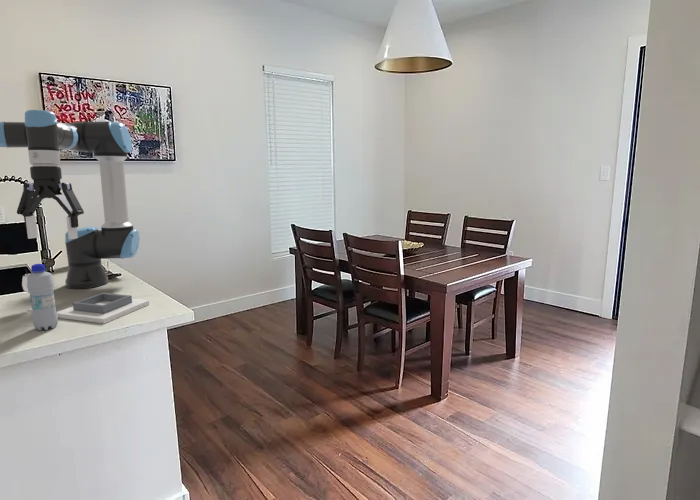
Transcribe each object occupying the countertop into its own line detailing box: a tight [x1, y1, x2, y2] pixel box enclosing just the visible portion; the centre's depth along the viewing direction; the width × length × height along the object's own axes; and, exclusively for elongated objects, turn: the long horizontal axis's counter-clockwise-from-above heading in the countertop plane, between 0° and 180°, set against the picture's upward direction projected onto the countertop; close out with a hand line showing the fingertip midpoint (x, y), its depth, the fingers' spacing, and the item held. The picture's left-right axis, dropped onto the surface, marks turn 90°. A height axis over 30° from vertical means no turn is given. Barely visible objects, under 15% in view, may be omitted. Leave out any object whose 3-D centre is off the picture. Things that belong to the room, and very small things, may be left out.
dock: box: [56, 292, 150, 324], centre depth 153 cm, size 20×20×4 cm
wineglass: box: [21, 272, 32, 312], centre depth 154 cm, size 6×6×12 cm
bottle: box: [27, 263, 59, 331], centre depth 136 cm, size 7×7×20 cm
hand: (52, 238), depth 134 cm, fingers open, 13 cm apart
